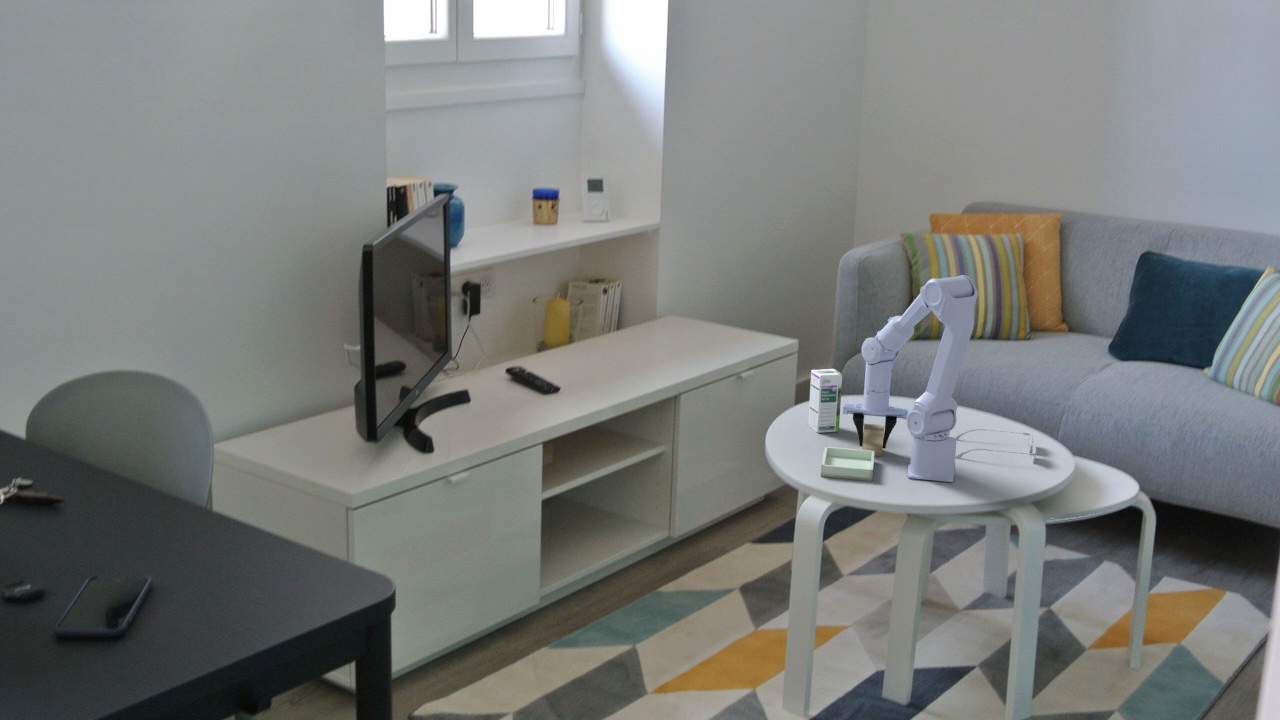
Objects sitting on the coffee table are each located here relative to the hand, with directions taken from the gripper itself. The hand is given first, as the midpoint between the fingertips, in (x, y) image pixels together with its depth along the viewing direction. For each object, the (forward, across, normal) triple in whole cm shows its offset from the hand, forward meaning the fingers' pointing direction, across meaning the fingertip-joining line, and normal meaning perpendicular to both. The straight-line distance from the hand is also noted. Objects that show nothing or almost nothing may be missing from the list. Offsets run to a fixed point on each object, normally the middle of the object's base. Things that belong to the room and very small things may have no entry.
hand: (872, 446), depth 289 cm
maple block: (+1, 0, 0) cm, 1 cm away
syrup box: (+2, +12, -14) cm, 19 cm away
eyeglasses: (+2, -27, -8) cm, 28 cm away
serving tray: (+1, +5, +13) cm, 14 cm away
